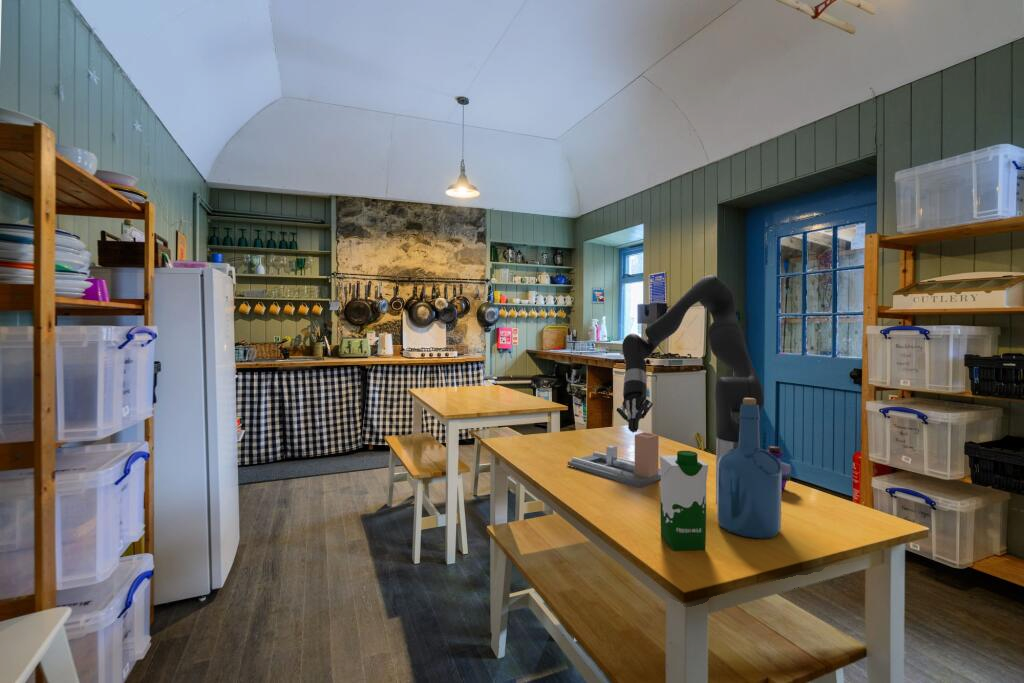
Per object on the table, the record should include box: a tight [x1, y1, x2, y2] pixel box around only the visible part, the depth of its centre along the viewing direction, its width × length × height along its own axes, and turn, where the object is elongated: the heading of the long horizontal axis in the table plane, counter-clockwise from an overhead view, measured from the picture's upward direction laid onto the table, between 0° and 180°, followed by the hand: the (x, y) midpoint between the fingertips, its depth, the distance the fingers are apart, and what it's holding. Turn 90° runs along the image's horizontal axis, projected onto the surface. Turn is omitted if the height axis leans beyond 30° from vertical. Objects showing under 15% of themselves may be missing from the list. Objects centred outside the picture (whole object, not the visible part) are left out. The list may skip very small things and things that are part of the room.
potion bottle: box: [765, 445, 792, 490], centre depth 137 cm, size 9×9×12 cm
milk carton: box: [659, 450, 709, 551], centre depth 103 cm, size 9×9×20 cm
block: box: [634, 432, 659, 478], centre depth 145 cm, size 5×5×12 cm
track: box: [567, 451, 661, 488], centre depth 154 cm, size 16×28×2 cm, turn 41°
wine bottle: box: [716, 398, 782, 539], centre depth 110 cm, size 14×13×30 cm
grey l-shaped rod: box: [605, 445, 635, 472], centre depth 152 cm, size 4×12×6 cm, turn 41°
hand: (633, 431), depth 151 cm, fingers closed
